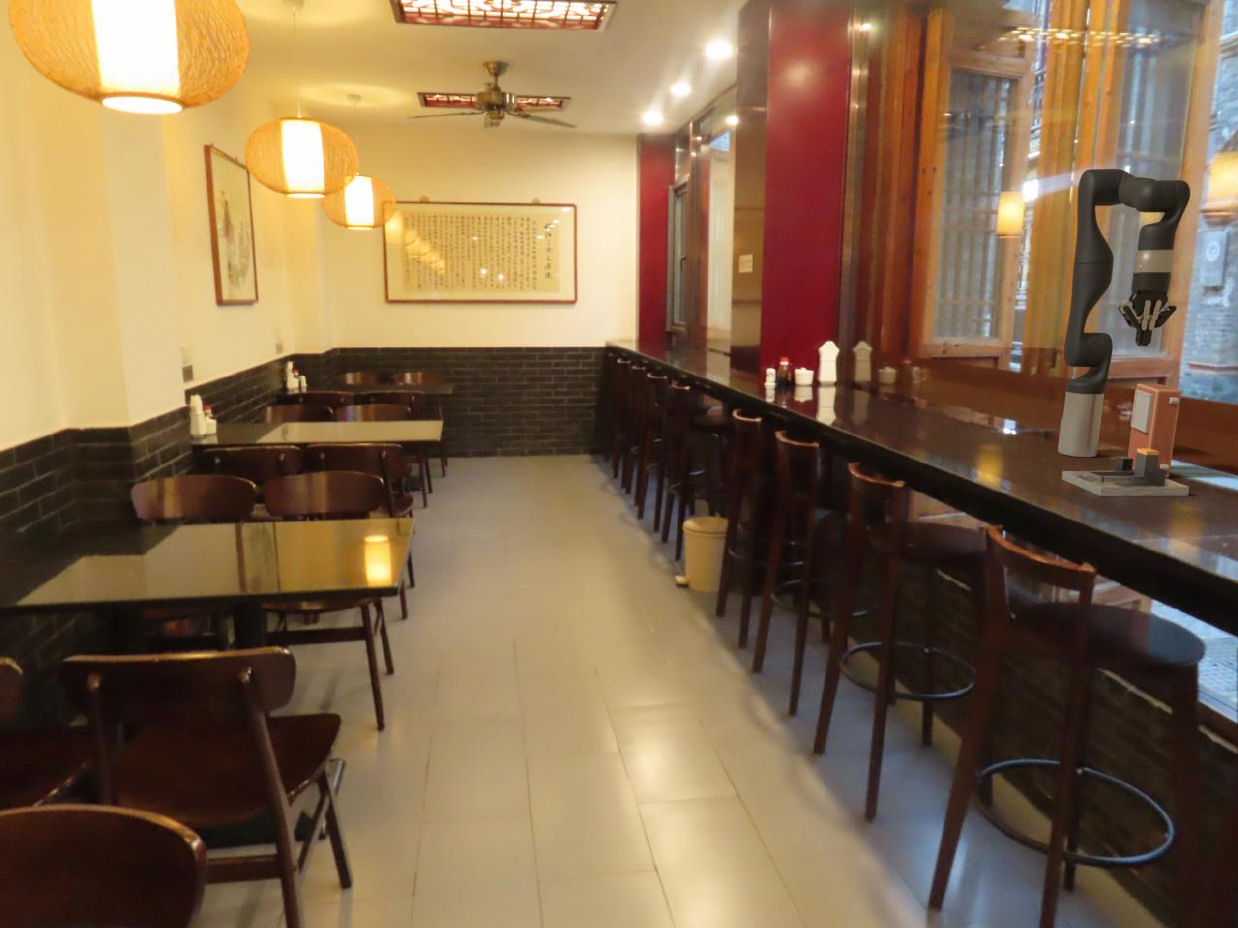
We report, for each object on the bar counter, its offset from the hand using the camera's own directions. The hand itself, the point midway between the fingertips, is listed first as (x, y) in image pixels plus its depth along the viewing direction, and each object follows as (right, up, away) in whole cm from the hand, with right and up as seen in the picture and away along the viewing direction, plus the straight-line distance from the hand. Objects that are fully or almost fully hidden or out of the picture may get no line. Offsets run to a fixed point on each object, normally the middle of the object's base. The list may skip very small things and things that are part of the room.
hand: (1142, 346), depth 199 cm
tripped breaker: (-1, -31, -2) cm, 31 cm away
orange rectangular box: (+10, -30, +14) cm, 34 cm away
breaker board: (-6, -33, -2) cm, 34 cm away
